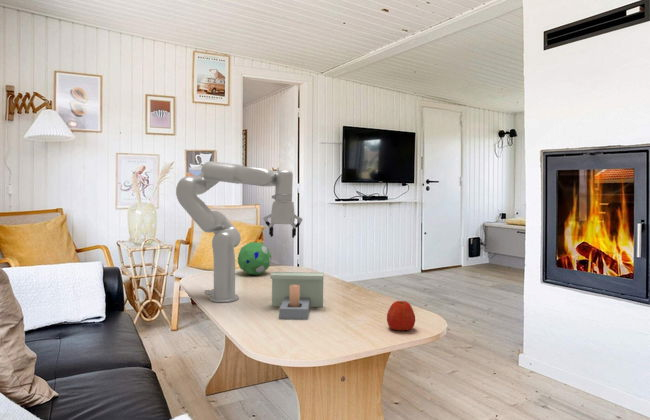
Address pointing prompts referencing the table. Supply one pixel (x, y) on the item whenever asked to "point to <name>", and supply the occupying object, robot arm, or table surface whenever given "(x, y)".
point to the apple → (401, 316)
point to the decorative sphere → (254, 258)
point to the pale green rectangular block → (308, 284)
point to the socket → (294, 309)
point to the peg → (294, 295)
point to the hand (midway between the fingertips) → (282, 236)
